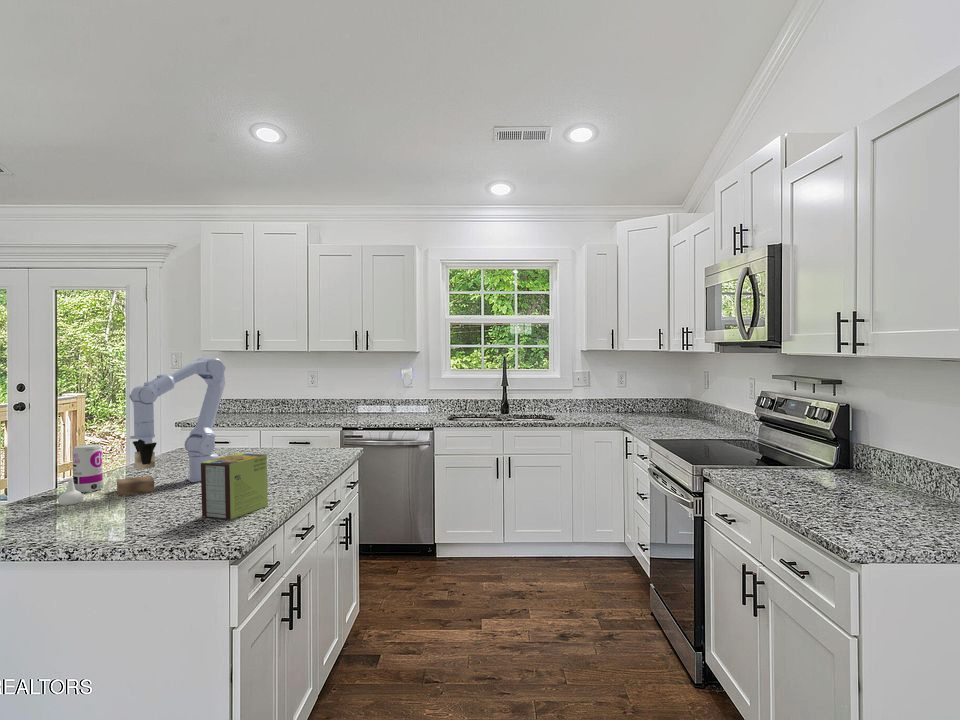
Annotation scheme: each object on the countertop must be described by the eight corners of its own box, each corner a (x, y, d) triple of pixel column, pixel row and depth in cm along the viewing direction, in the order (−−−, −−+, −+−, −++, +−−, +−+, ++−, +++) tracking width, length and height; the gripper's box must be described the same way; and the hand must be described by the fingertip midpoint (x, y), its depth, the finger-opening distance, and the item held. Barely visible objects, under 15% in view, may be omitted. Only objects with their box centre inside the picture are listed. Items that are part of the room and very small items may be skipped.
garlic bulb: (69, 508, 173) (71, 482, 173) (52, 505, 174) (53, 479, 174) (87, 502, 179) (89, 477, 179) (71, 500, 180) (72, 474, 180)
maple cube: (151, 465, 194) (151, 450, 194) (154, 467, 190) (154, 452, 190) (134, 467, 191) (134, 452, 191) (137, 469, 187) (137, 454, 187)
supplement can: (108, 487, 197) (107, 444, 196) (90, 493, 188) (88, 448, 188) (86, 487, 197) (85, 443, 197) (67, 493, 189) (66, 448, 189)
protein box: (268, 505, 171) (267, 454, 171) (230, 520, 157) (229, 463, 156) (240, 503, 174) (239, 452, 174) (200, 517, 160) (199, 461, 160)
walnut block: (151, 487, 198) (150, 475, 198) (154, 492, 190) (154, 480, 190) (117, 491, 192) (116, 479, 192) (118, 497, 184) (118, 485, 184)
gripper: (126, 421, 193) (127, 461, 194) (134, 425, 182) (134, 467, 182) (150, 419, 198) (150, 458, 198) (158, 423, 187) (159, 464, 187)
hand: (144, 462), depth 191 cm, fingers closed on maple cube, 5 cm apart
